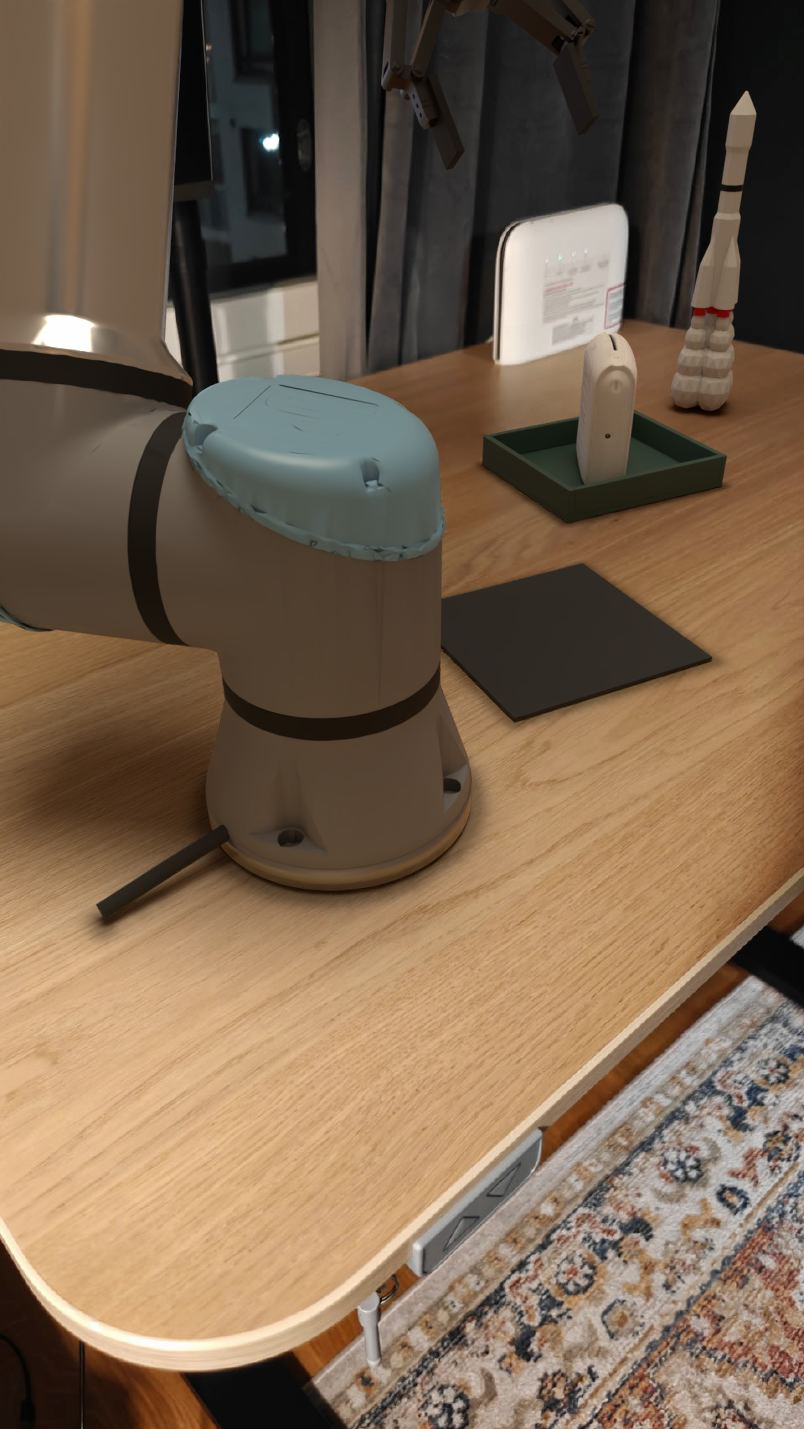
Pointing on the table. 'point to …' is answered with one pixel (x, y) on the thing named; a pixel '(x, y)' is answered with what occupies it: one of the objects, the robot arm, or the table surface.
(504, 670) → the mat
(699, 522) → the table surface
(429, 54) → the robot arm
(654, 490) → the tray
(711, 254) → the rocket model
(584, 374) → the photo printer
